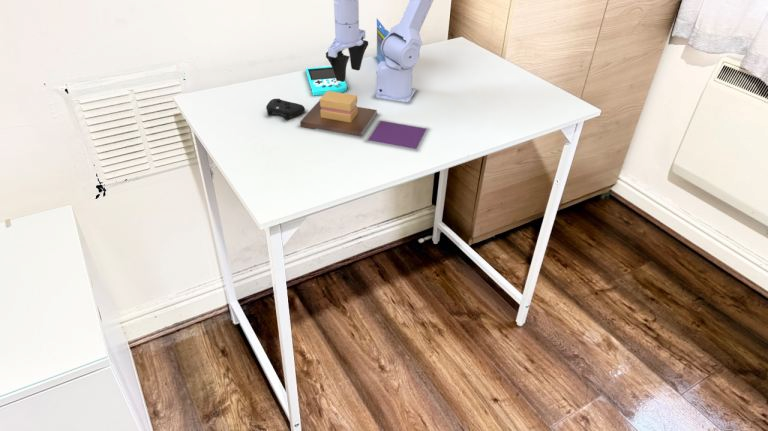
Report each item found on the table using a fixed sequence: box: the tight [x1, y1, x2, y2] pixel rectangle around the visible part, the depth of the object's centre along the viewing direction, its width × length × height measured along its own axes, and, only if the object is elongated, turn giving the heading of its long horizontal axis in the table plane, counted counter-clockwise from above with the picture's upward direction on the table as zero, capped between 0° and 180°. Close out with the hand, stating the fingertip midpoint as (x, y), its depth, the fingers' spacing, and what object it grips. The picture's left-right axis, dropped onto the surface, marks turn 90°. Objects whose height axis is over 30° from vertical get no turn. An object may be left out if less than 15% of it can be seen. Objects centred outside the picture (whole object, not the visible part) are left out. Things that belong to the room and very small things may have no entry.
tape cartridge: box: [376, 18, 390, 62], centre depth 158 cm, size 9×4×12 cm, turn 17°
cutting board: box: [300, 99, 378, 138], centre depth 132 cm, size 16×12×2 cm
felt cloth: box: [367, 120, 427, 150], centre depth 128 cm, size 12×10×1 cm
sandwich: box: [319, 91, 358, 123], centre depth 130 cm, size 8×5×5 cm, turn 72°
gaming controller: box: [265, 98, 306, 121], centre depth 135 cm, size 10×5×6 cm
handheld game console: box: [305, 65, 348, 96], centre depth 150 cm, size 10×16×1 cm, turn 14°
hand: (348, 74), depth 132 cm, fingers open, 7 cm apart
